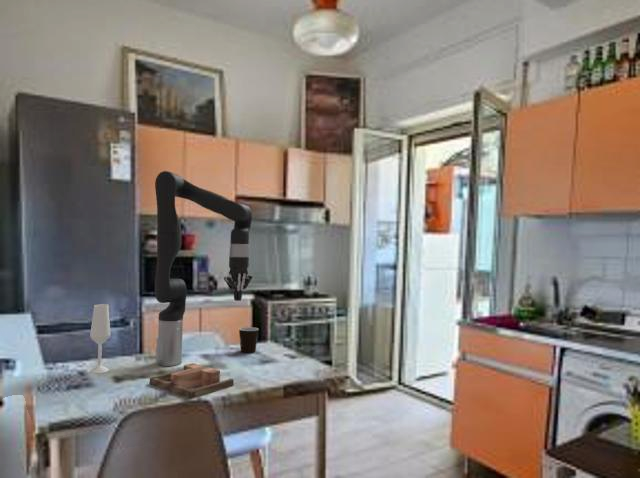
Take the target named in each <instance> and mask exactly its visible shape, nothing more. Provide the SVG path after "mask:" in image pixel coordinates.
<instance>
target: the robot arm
mask: <svg viewBox="0 0 640 478" xmlns="http://www.w3.org/2000/svg"><path fill="white" fill-rule="evenodd" d="M154 190H155V197H156V208H157V209H156V225H157V226H156V227H157V228H156V246H157V247H156V254H157V255H156V256H157V257H156V272H155V282H154V295H155V299H156V301H157V302H158V303H160V304H167V303H169V305H168V306H166V308H165V309H163V310H161V311H160V312H159V313H158V325H157V329H158V331H157V338H156V347H155V348H156V349H155V350H156V352H155V363H156V364H157V365H159V366H163V367H171V366H177V365H180V364H182V363H183V362H182V360H183V359H182V358H183V357H182V356H183V331H184V329H183V328H184V314H185V312H186V303H187V285H186V284H187V283H185V281H184V279H181V278H171V276H170V275H171V267H172V265H173V262H174V261H175V259H176V257H177V256H178V254H179V252H180V250H181V247H182V239H183V238H182V226H181V222H180V220H179V219H180V218H179V217H178V214H177V211H176V198H181V199H185V200H188V201H191V202H193V203H195V204H197V205H199V206H201V208H204V209H206V210H209V211H211V212H213V213H215V214H218V215H221V216H222V217H225V218H226V219H228V220H231V221H232V222H234V226H233V229H231V231H230V244H229V245H230V246H229V253H228V254H229V255H228V257H229V258H228V268H229V272H228V275H227V276H224V277H223V280H224V281H225V283H226V285H227V286H228V288H229V290H233V299H234V301H236V302H238V301H239V302H240V301H242V298H243V291H244V290H246V289H247V287H248V286H249V284H250V283H251V281H252V279H253V276H252V275H250V274H249V271H248V269H249V266H250V265H249V261H250V248H249V247H250V245H249V244H250V243H249V242H250V230H251V225H252V219H253V213H252V209H251V208H250V207H249V205H246V204H242V203H240V202H239V203H238V202H236V201H233V200H230V199H229V198H227V197H226V196H223V195H221V194H219V193H215V192H213V191H211V190H208V189H204V188H202V187H199V186H197V185H195V184H192V183H191V182H190V181H188V180H186V179H185V178H183V177H181V176H180V175H179V174H177V173H174V172H171V171H167V170H164V171H161V172H159V173H158V174H157V176H156V177H155V182H154Z"/></svg>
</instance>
